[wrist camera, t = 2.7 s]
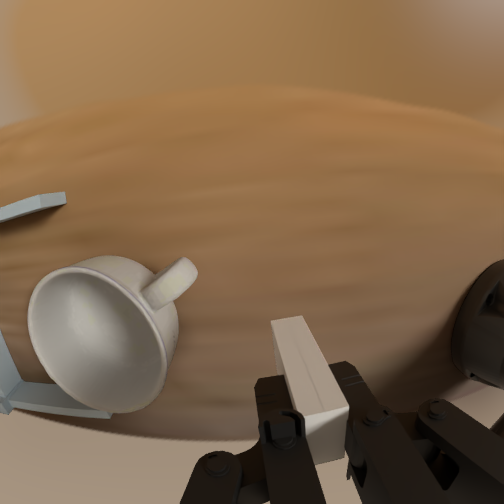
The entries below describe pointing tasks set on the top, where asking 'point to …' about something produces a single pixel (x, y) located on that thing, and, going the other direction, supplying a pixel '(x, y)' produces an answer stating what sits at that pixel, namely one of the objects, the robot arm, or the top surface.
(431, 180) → the top surface
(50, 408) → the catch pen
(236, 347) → the top surface
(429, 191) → the top surface
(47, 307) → the teacup
